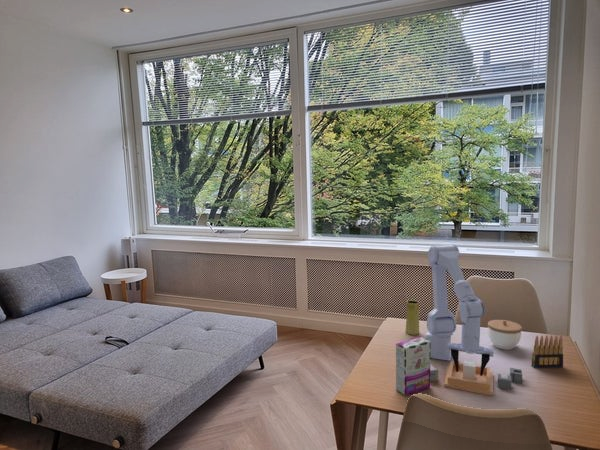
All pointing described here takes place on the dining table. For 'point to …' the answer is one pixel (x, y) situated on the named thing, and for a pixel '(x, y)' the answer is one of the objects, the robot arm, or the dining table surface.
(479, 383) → the wooden tray
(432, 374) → the usb wall charger
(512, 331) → the lidded bowl
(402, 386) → the candy bar box
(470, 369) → the plain white rectangular block
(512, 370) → the clip
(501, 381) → the clip
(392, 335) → the dining table surface
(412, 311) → the vase
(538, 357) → the ammunition clip
